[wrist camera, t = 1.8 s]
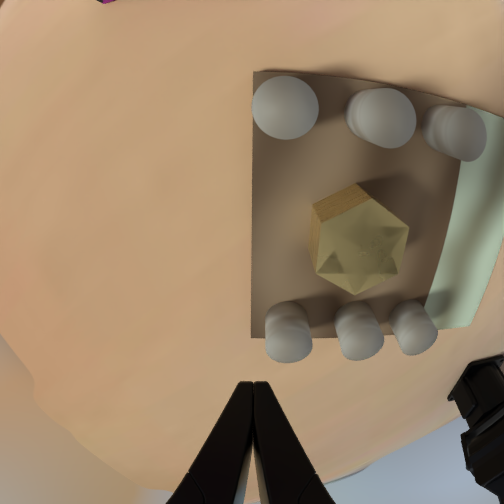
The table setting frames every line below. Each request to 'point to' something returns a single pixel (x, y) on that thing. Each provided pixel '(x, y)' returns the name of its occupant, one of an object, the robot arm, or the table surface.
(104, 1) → the candy bar box
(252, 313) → the board
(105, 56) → the table surface
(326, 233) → the hexagonal box
